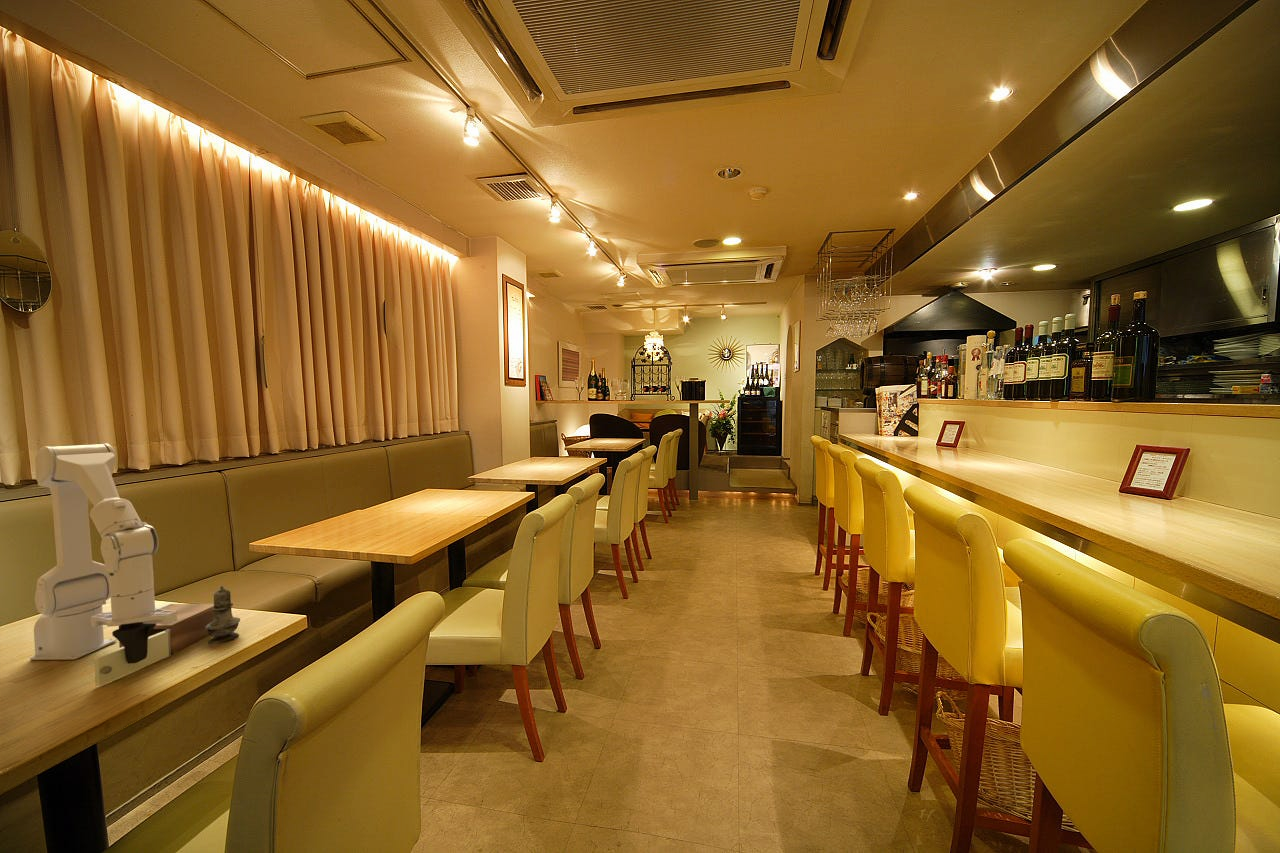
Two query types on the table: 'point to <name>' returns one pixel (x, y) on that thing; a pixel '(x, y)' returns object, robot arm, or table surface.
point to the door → (117, 666)
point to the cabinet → (186, 625)
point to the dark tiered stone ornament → (222, 619)
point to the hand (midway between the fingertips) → (136, 660)
